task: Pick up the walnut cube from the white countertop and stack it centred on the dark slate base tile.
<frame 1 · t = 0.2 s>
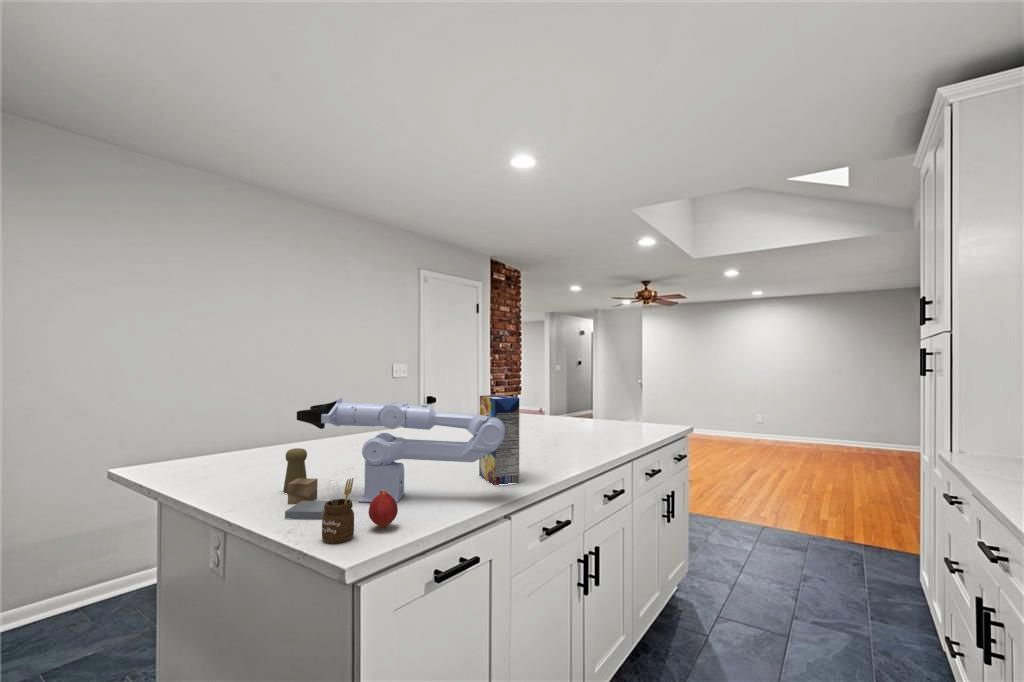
hand: (304, 412, 122), 21 cm above the counter, tool horizontal, fingers open, 7 cm apart
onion: (383, 529, 100), on the counter
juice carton: (498, 480, 139), on the counter
slate base: (311, 513, 109), on the counter
utensil holder: (338, 539, 94), on the counter
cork: (295, 491, 127), on the counter
walnut cube: (302, 501, 118), on the counter
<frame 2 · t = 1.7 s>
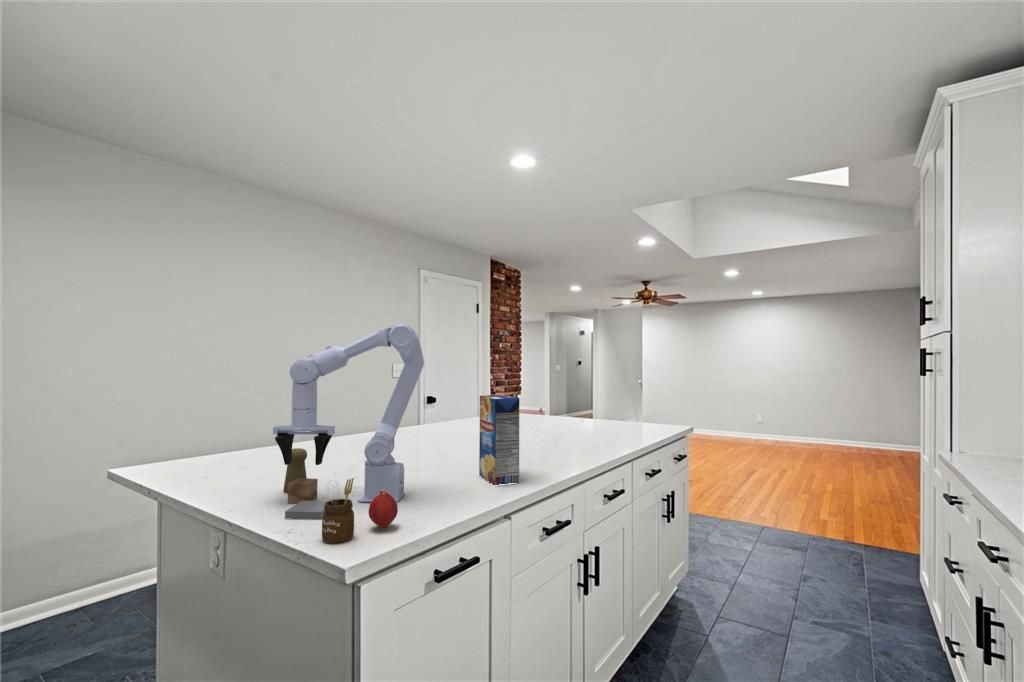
hand: (303, 464, 119), 9 cm above the counter, tool pointing down, fingers open, 7 cm apart
nothing on the counter moved.
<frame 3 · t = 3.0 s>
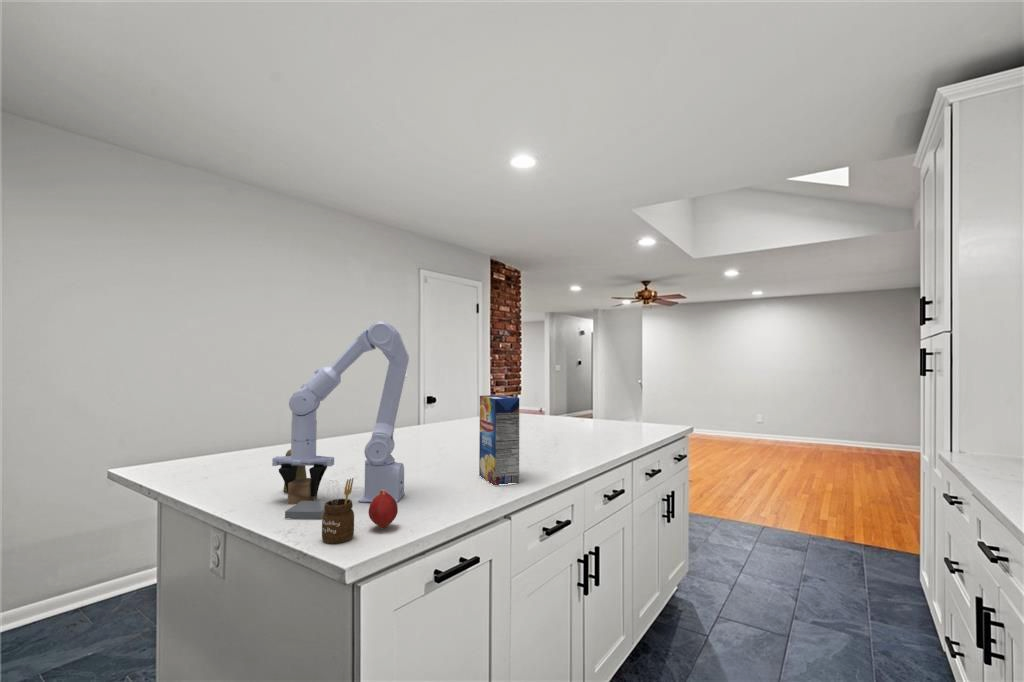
hand: (302, 495, 118), 1 cm above the counter, tool pointing down, fingers closed on walnut cube, 5 cm apart
walnut cube: (302, 501, 118), on the counter, touching gripper
everything else where it was.
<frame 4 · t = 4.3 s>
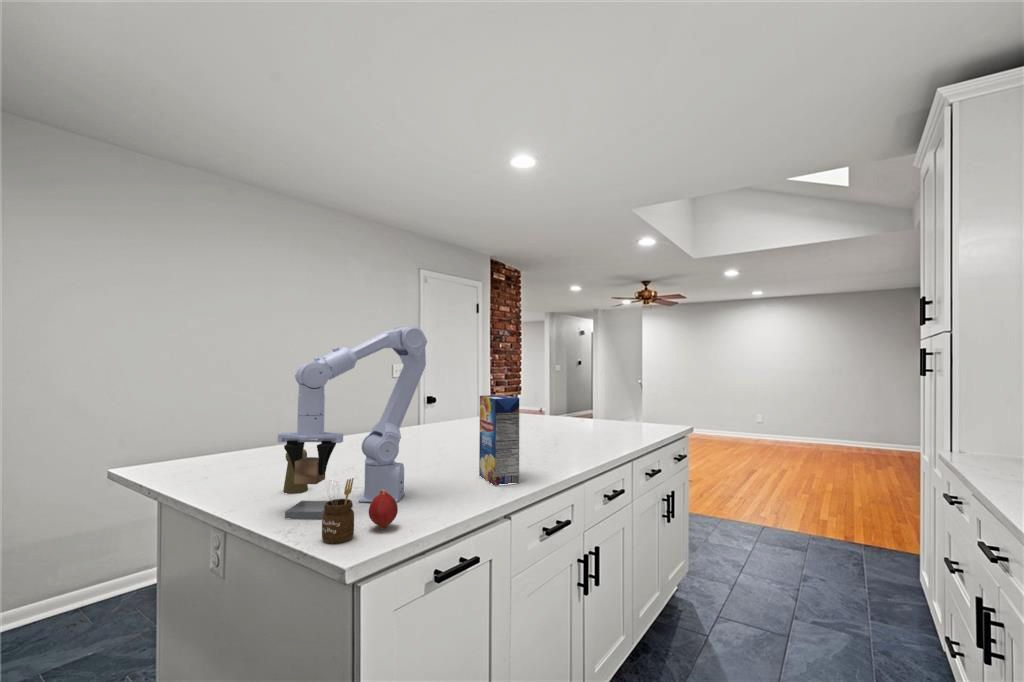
hand: (310, 473, 111), 8 cm above the counter, tool pointing down, fingers closed on walnut cube, 5 cm apart
walnut cube: (309, 481, 111), point 7 cm above the counter, touching gripper
everything else where it was.
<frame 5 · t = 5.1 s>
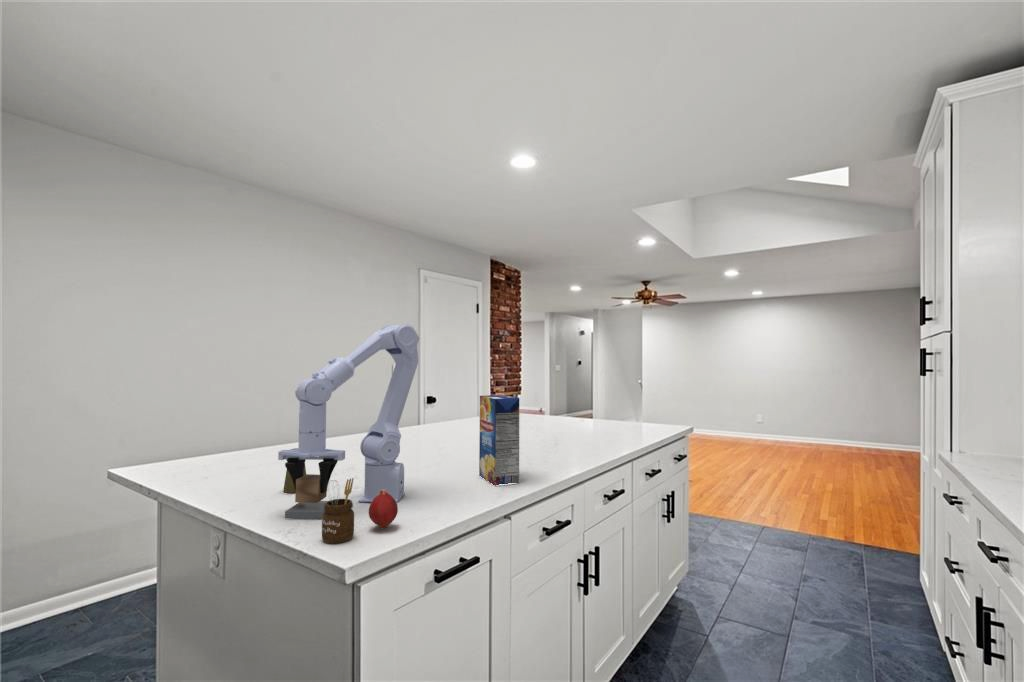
hand: (311, 491, 109), 5 cm above the counter, tool pointing down, fingers closed on walnut cube, 5 cm apart
walnut cube: (311, 499, 109), point 3 cm above the counter, touching gripper
everything else where it was.
when the fingers open (4 cm above the counter, at t = 5.7 s): walnut cube stays where it is, resting on slate base.
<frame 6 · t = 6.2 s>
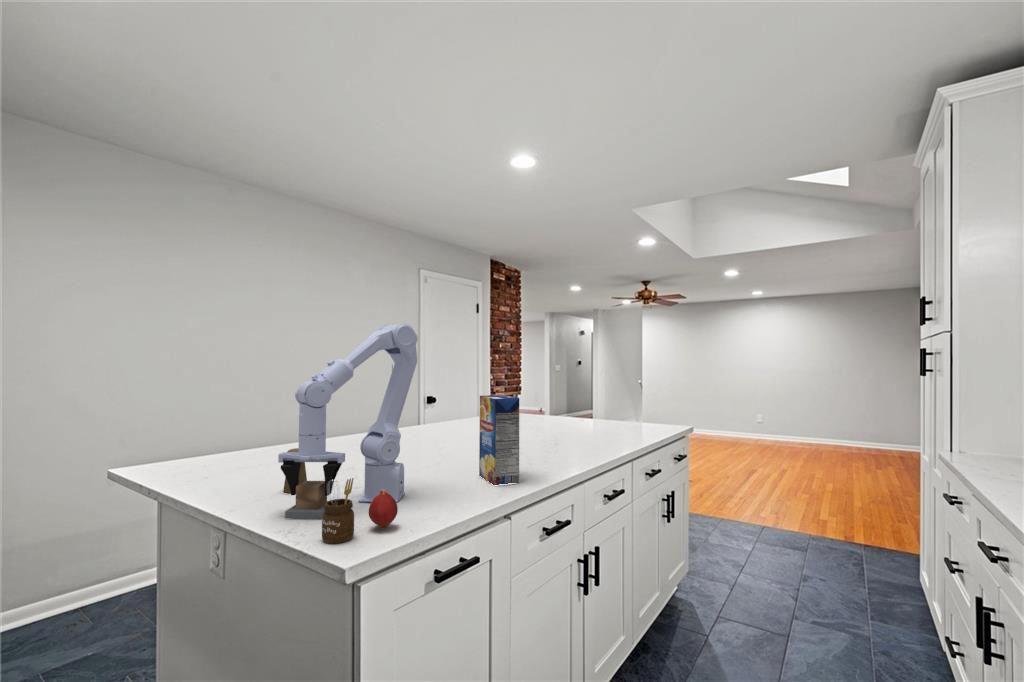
hand: (311, 494, 109), 4 cm above the counter, tool pointing down, fingers open, 7 cm apart
walnut cube: (311, 505, 109), point 2 cm above the counter, touching slate base
everything else where it was.
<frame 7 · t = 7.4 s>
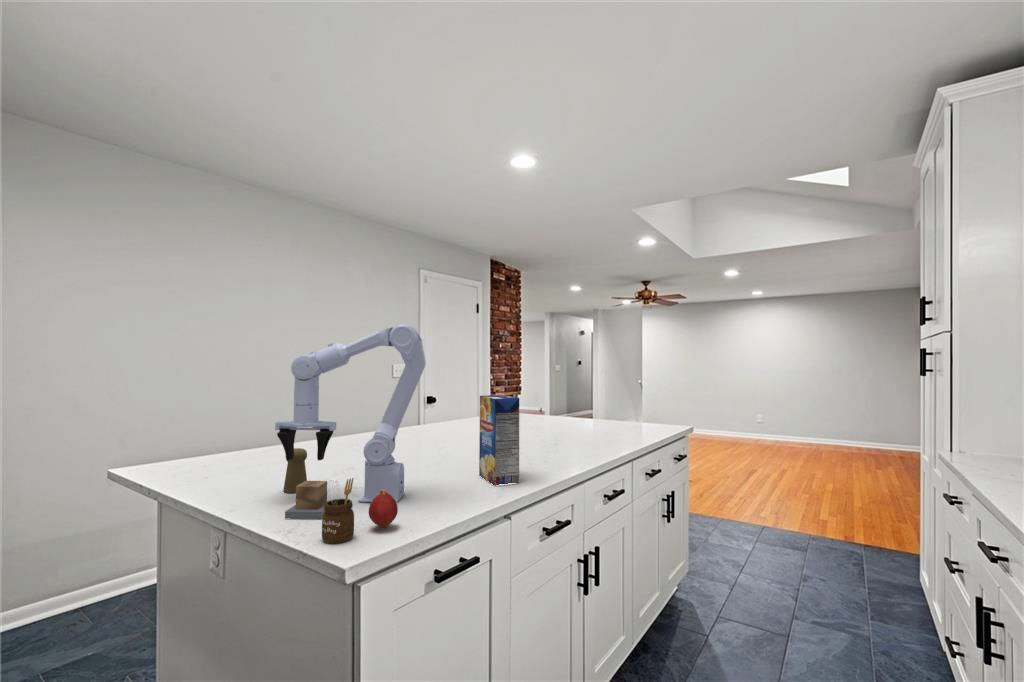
hand: (305, 459, 120), 10 cm above the counter, tool pointing down, fingers open, 7 cm apart
nothing on the counter moved.
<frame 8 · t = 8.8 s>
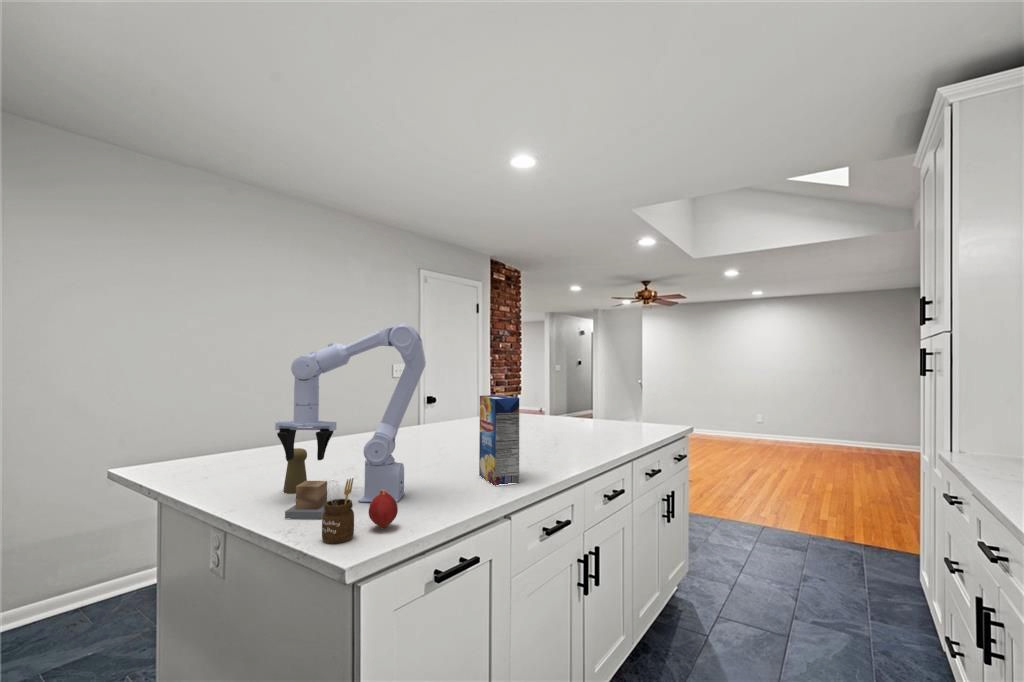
hand: (305, 459, 120), 10 cm above the counter, tool pointing down, fingers open, 7 cm apart
nothing on the counter moved.
at the end: walnut cube 0.1 cm off-centre on the slate base, point 1.6 cm above the slate base's base; walnut cube tilted 0°; the gripper is holding nothing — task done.
